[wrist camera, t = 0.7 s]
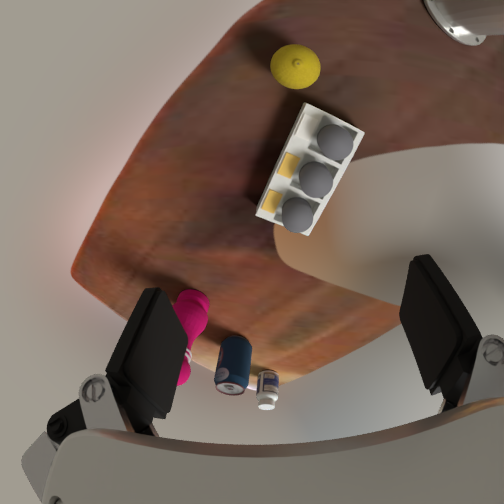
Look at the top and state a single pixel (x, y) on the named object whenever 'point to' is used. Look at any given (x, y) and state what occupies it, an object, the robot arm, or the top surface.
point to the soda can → (233, 365)
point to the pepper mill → (191, 323)
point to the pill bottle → (267, 389)
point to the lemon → (295, 66)
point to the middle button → (315, 179)
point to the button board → (298, 154)
